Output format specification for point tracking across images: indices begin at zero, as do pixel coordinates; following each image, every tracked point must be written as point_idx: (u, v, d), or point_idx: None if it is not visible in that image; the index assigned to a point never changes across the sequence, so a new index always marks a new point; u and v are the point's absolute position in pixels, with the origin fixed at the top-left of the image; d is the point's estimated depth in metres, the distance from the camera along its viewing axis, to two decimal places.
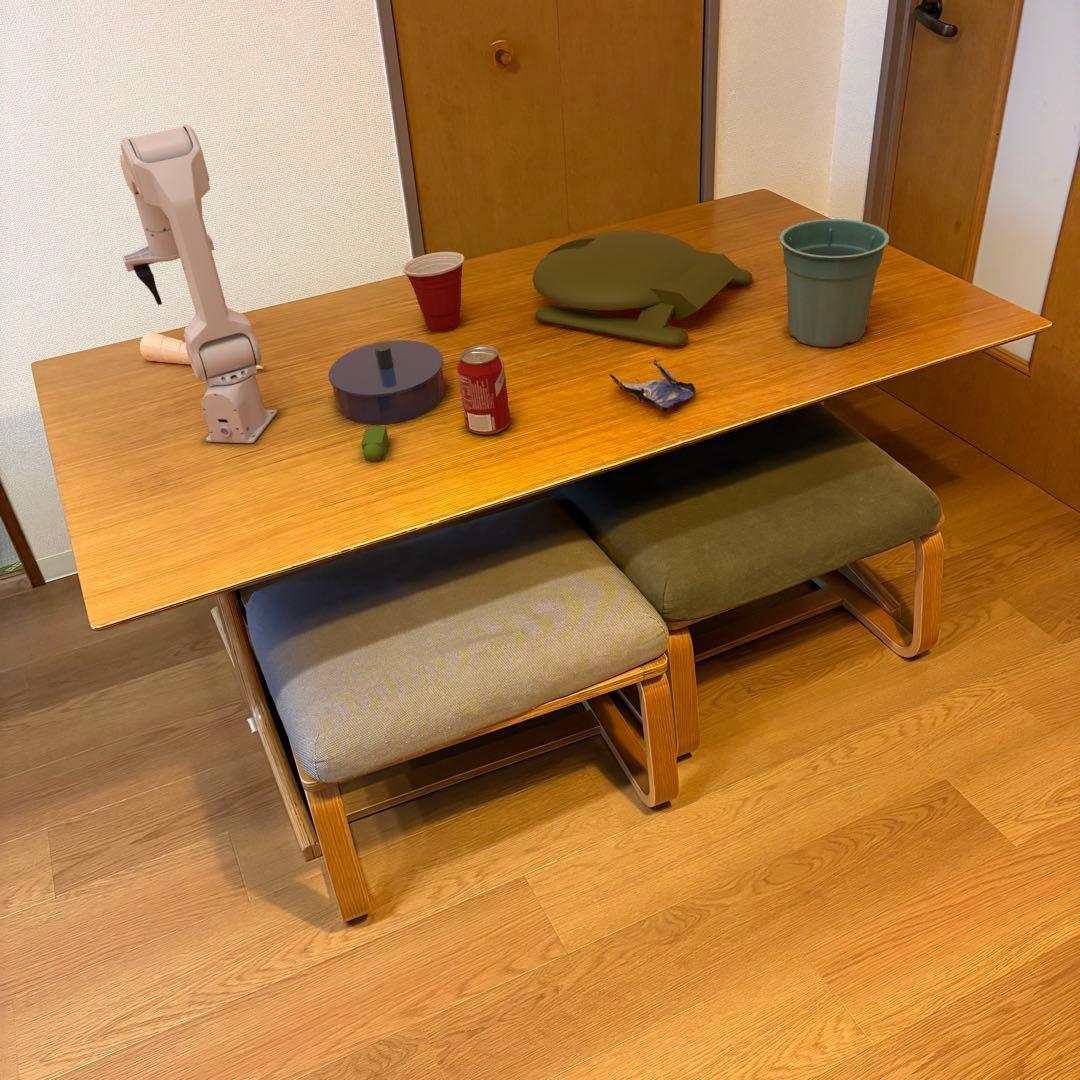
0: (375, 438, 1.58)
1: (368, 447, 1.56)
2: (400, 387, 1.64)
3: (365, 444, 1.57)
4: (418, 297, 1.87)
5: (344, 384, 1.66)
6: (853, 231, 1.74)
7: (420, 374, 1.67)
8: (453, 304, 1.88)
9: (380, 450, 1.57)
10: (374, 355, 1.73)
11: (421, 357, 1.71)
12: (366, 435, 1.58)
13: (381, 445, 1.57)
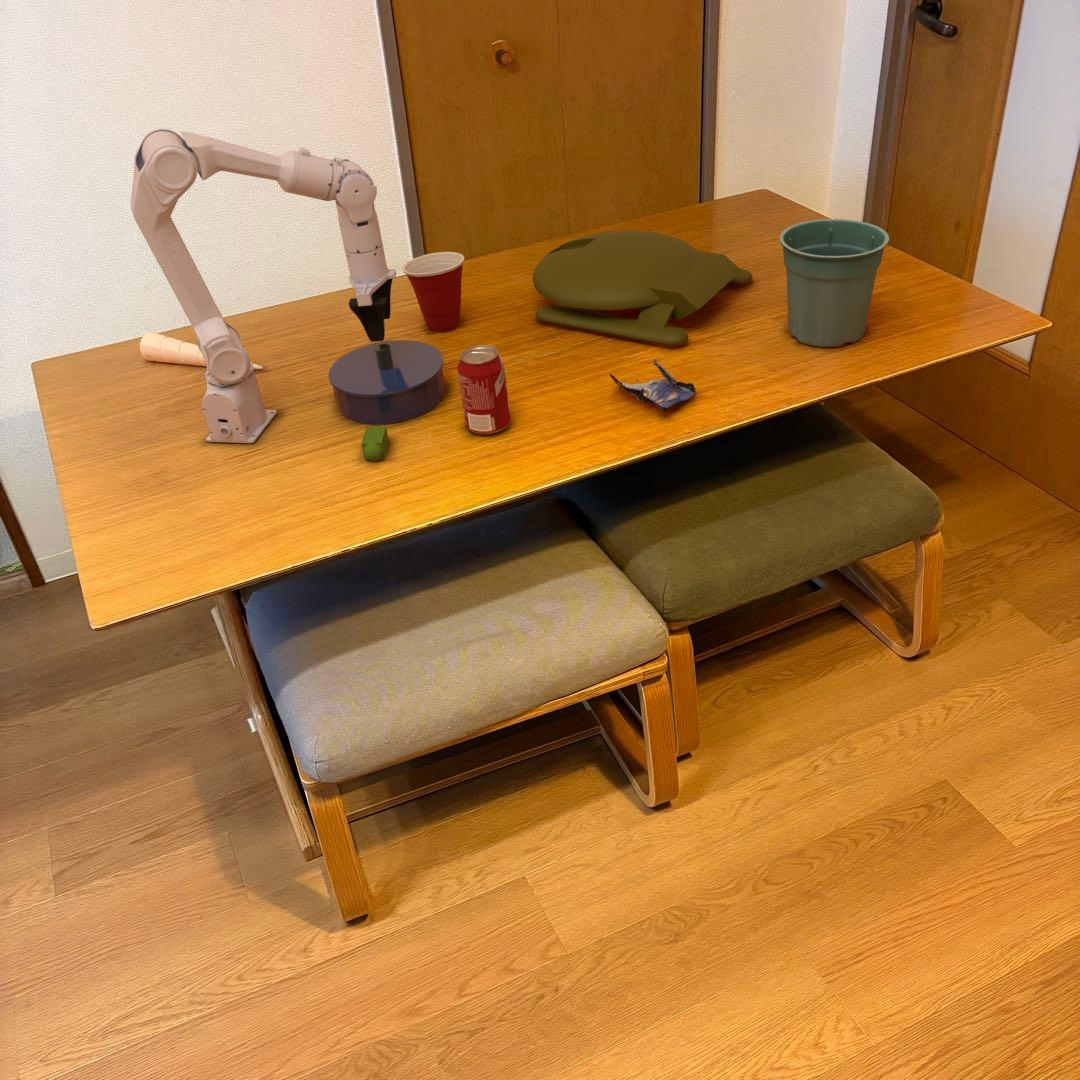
0: (375, 438, 1.58)
1: (368, 447, 1.56)
2: (400, 387, 1.64)
3: (365, 444, 1.57)
4: (418, 297, 1.87)
5: (344, 384, 1.66)
6: (853, 231, 1.74)
7: (420, 374, 1.67)
8: (453, 304, 1.88)
9: (380, 450, 1.57)
10: (374, 355, 1.73)
11: (421, 357, 1.71)
12: (366, 435, 1.58)
13: (381, 445, 1.57)
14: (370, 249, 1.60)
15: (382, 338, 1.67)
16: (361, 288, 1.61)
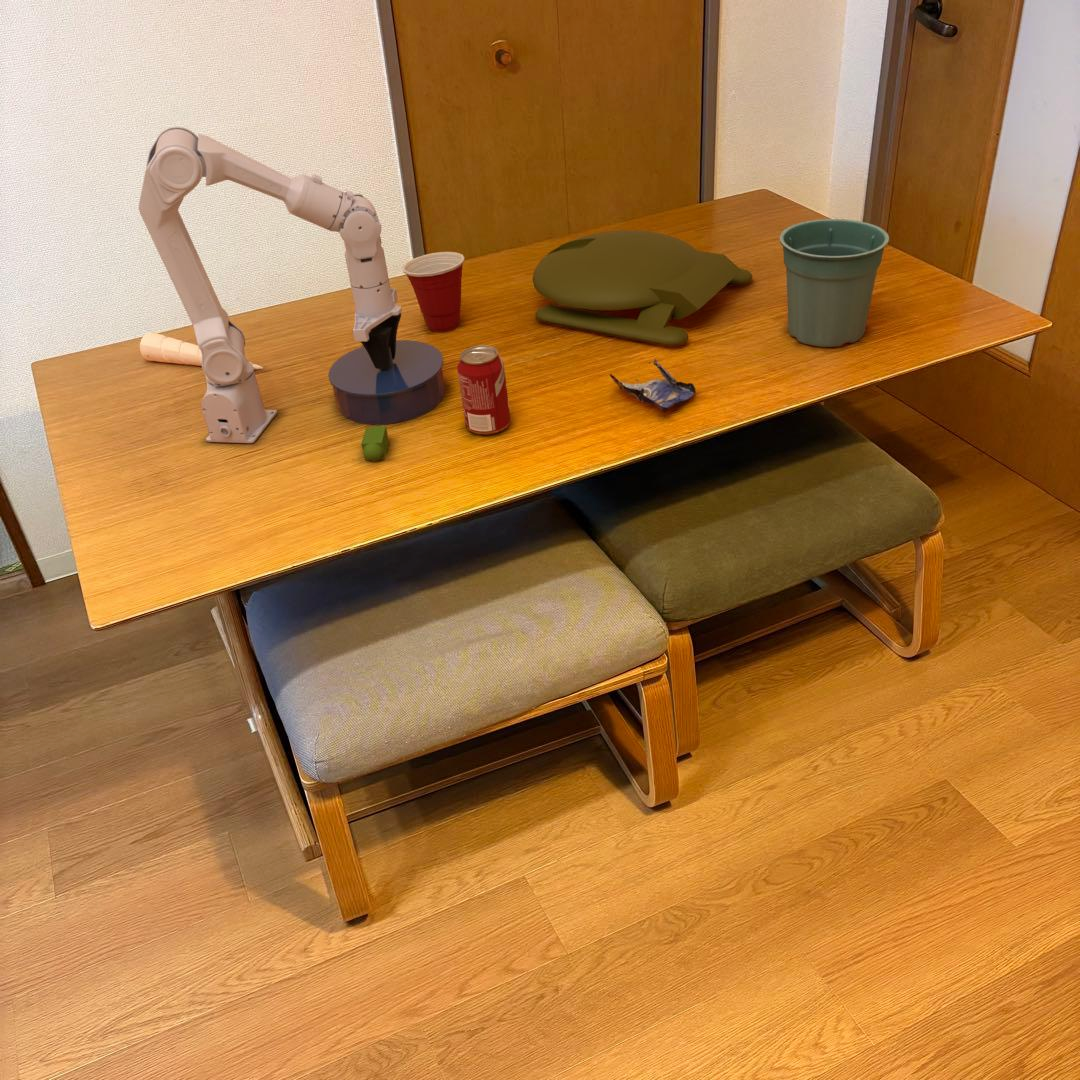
0: (375, 438, 1.58)
1: (368, 447, 1.56)
2: (400, 387, 1.64)
3: (365, 444, 1.57)
4: (418, 297, 1.87)
5: (344, 384, 1.66)
6: (853, 231, 1.74)
7: (420, 374, 1.67)
8: (453, 304, 1.88)
9: (380, 450, 1.57)
10: None
11: (421, 357, 1.71)
12: (366, 435, 1.58)
13: (381, 445, 1.57)
14: (373, 285, 1.59)
15: (386, 366, 1.68)
16: (361, 323, 1.61)
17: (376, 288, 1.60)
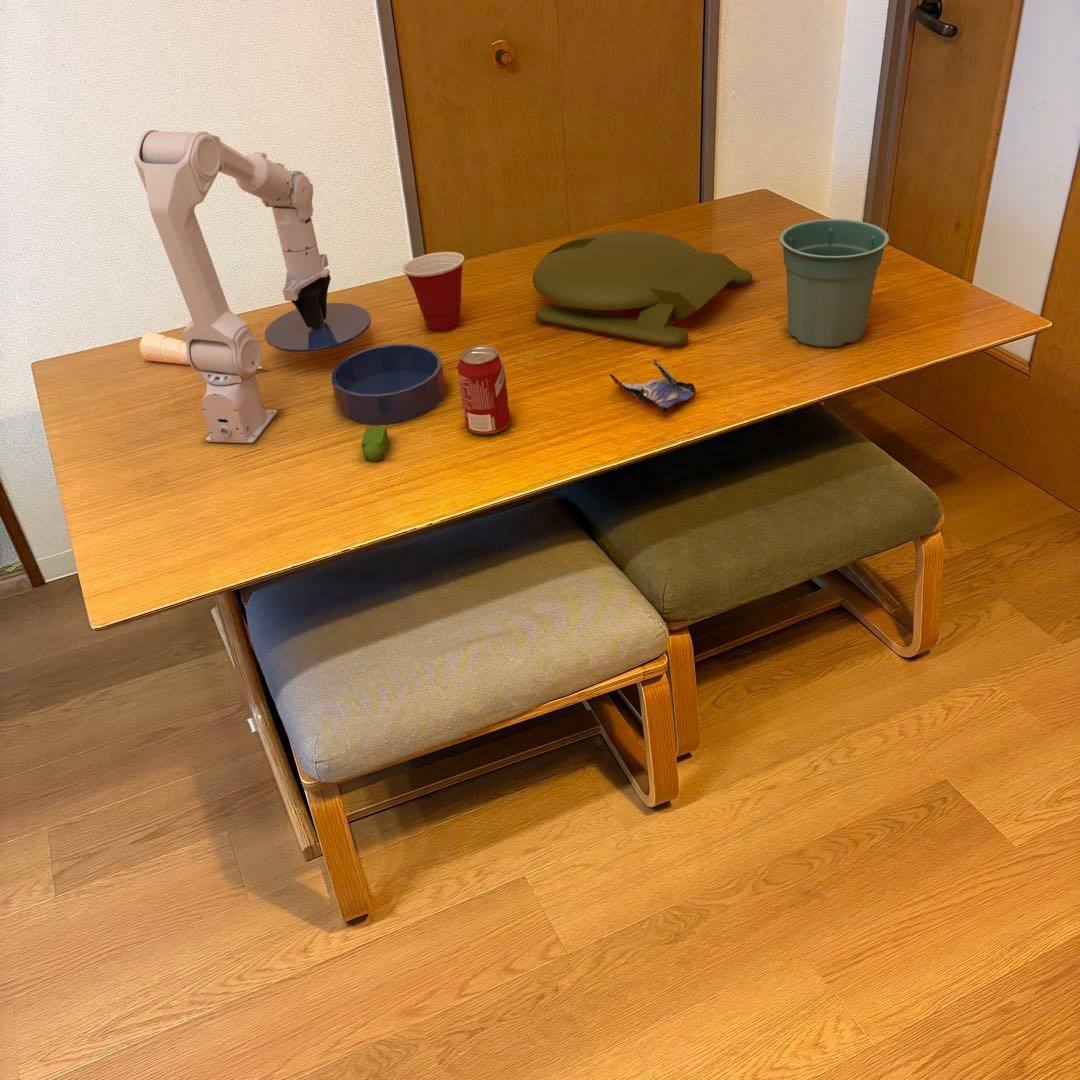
0: (375, 438, 1.58)
1: (368, 447, 1.56)
2: (328, 343, 1.78)
3: (365, 444, 1.57)
4: (418, 297, 1.87)
5: (278, 341, 1.81)
6: (853, 231, 1.74)
7: (348, 332, 1.81)
8: (453, 304, 1.88)
9: (380, 450, 1.57)
10: None
11: (351, 317, 1.86)
12: (366, 435, 1.58)
13: (381, 445, 1.57)
14: (314, 243, 1.75)
15: (316, 325, 1.82)
16: (291, 284, 1.75)
17: (304, 252, 1.74)
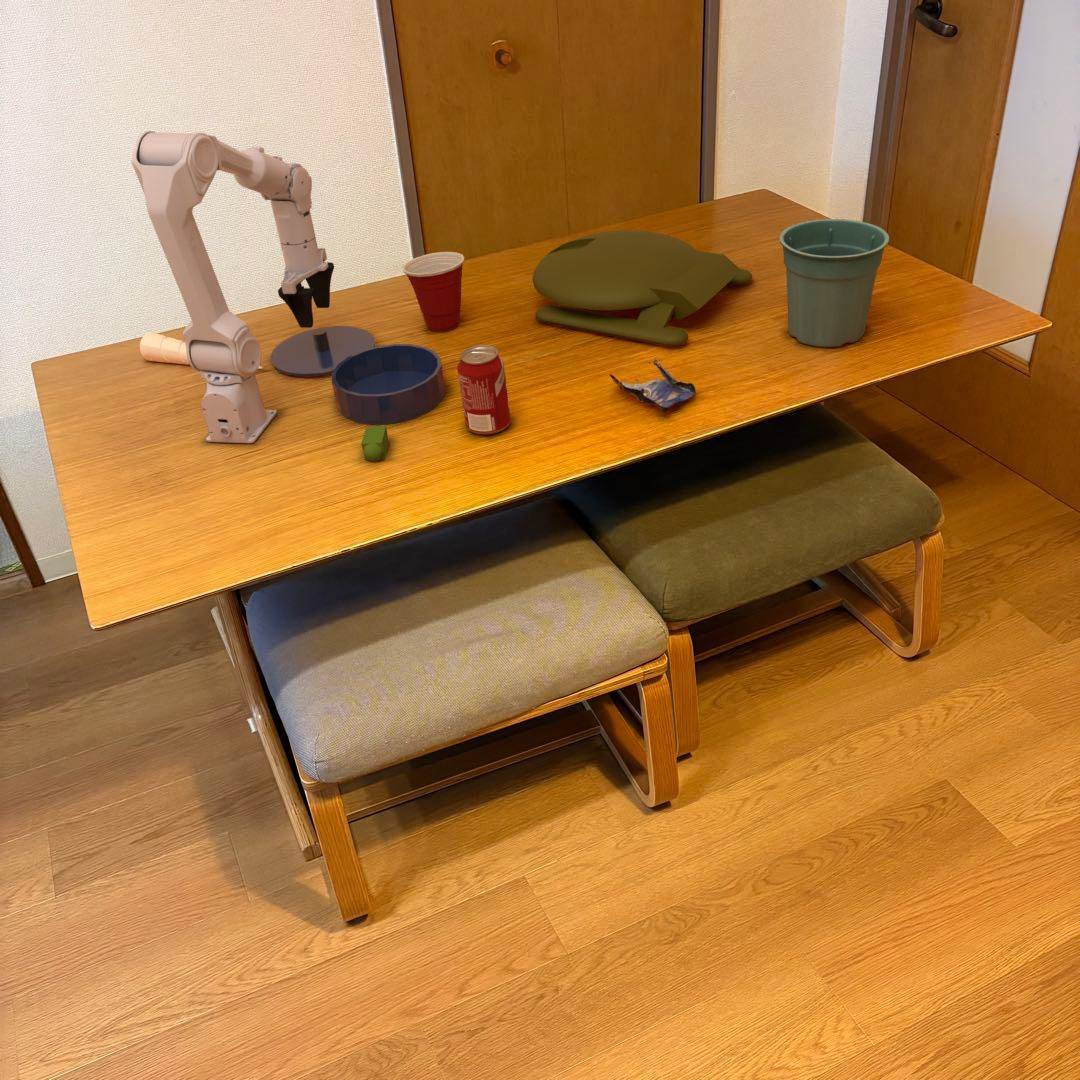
0: (375, 438, 1.58)
1: (368, 447, 1.56)
2: (334, 367, 1.81)
3: (365, 444, 1.57)
4: (418, 297, 1.87)
5: (284, 364, 1.83)
6: (853, 231, 1.74)
7: None
8: (453, 304, 1.88)
9: (380, 450, 1.57)
10: (313, 339, 1.90)
11: (355, 341, 1.88)
12: (366, 435, 1.58)
13: (381, 445, 1.57)
14: (313, 237, 1.75)
15: (310, 325, 1.80)
16: (289, 277, 1.74)
17: (303, 245, 1.73)
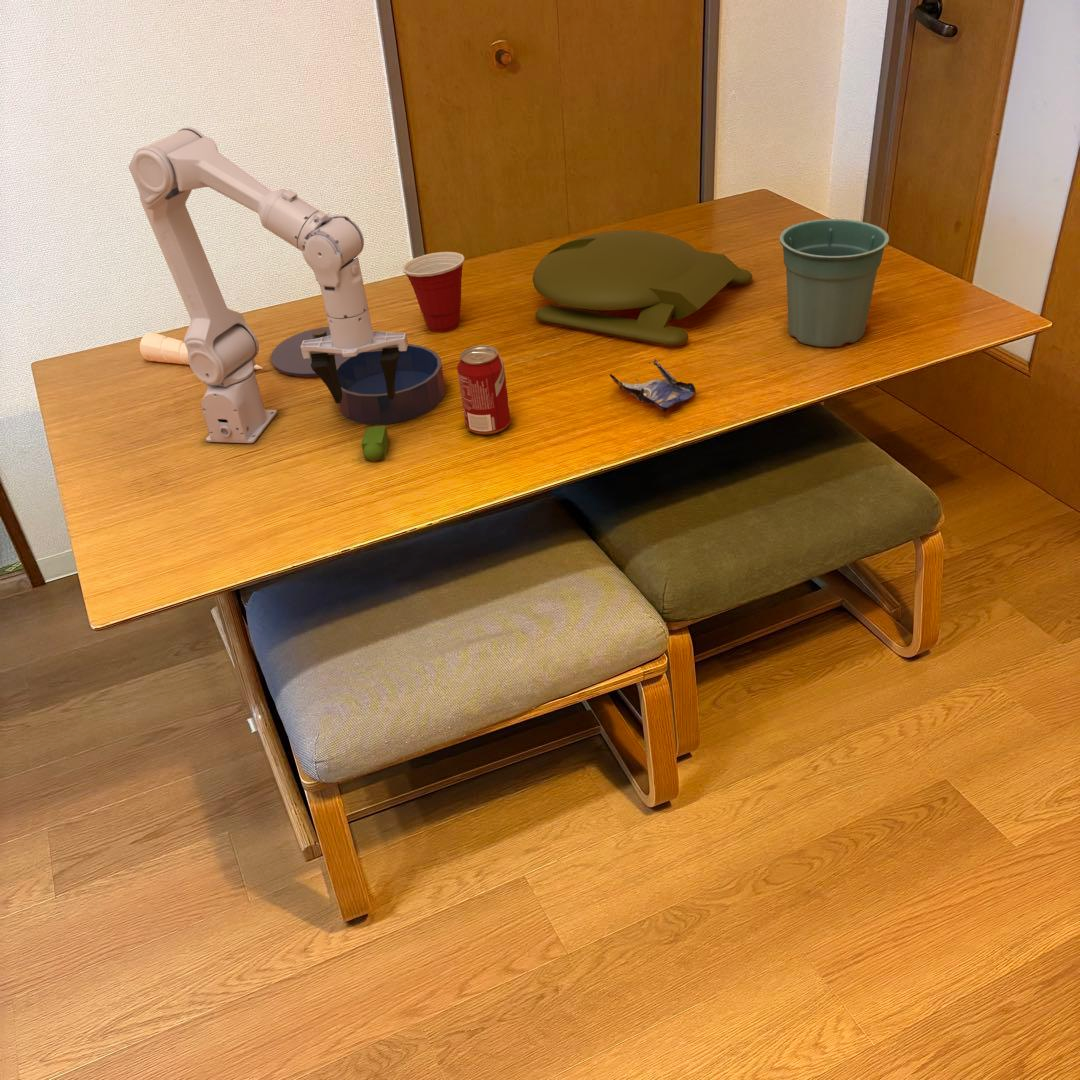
0: (375, 438, 1.58)
1: (368, 447, 1.56)
2: None
3: (365, 444, 1.57)
4: (418, 297, 1.87)
5: (284, 364, 1.83)
6: (853, 231, 1.74)
7: None
8: (453, 304, 1.88)
9: (380, 450, 1.57)
10: None
11: None
12: (366, 435, 1.58)
13: (381, 445, 1.57)
14: (337, 316, 1.45)
15: (335, 400, 1.55)
16: None
17: (329, 318, 1.46)
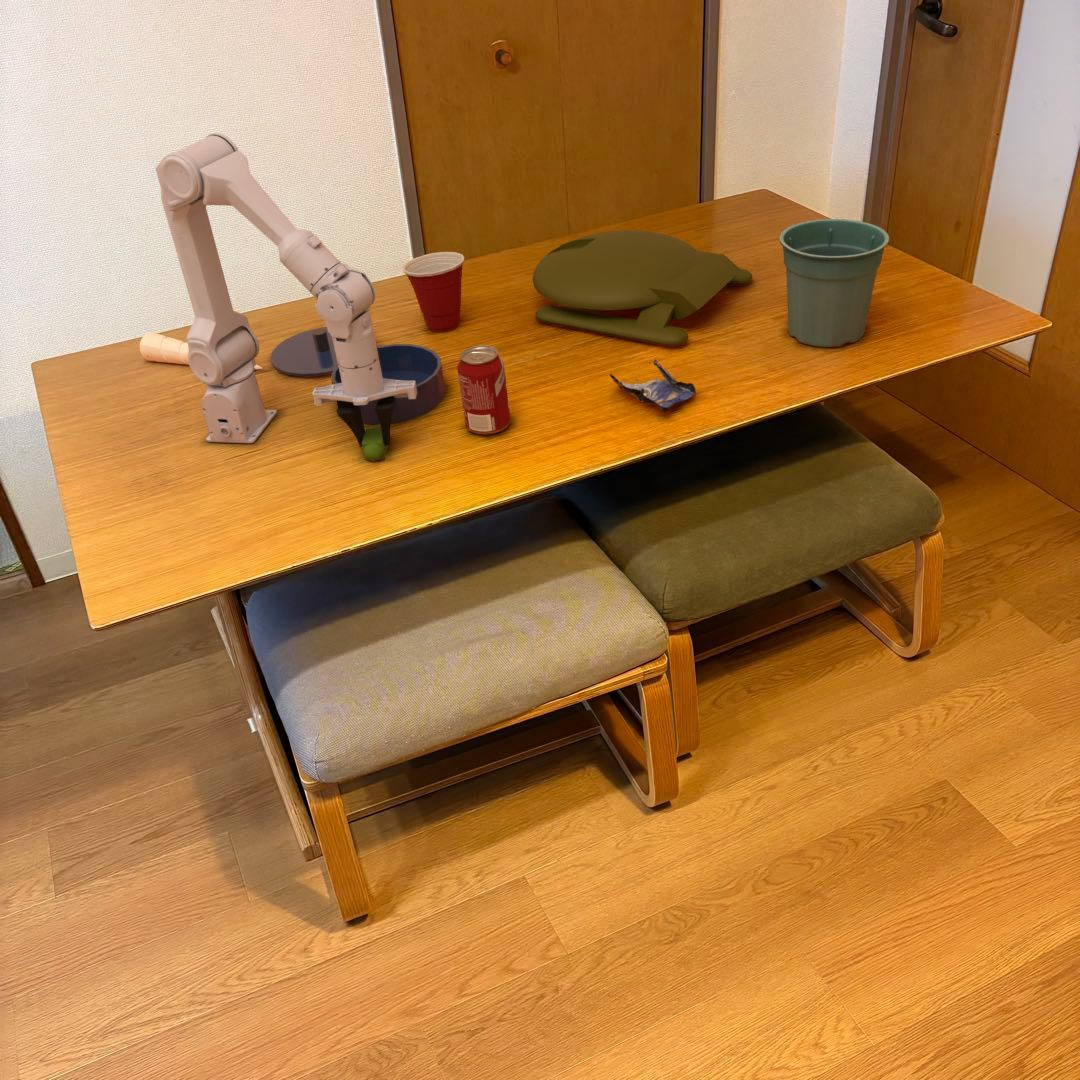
0: (376, 438, 1.58)
1: (368, 447, 1.56)
2: (334, 367, 1.81)
3: (365, 444, 1.57)
4: (418, 297, 1.87)
5: (284, 364, 1.83)
6: (853, 231, 1.74)
7: None
8: (453, 304, 1.88)
9: (380, 450, 1.57)
10: (313, 339, 1.90)
11: None
12: (366, 435, 1.58)
13: (381, 445, 1.57)
14: (348, 366, 1.49)
15: (359, 444, 1.58)
16: (331, 389, 1.55)
17: (340, 367, 1.50)
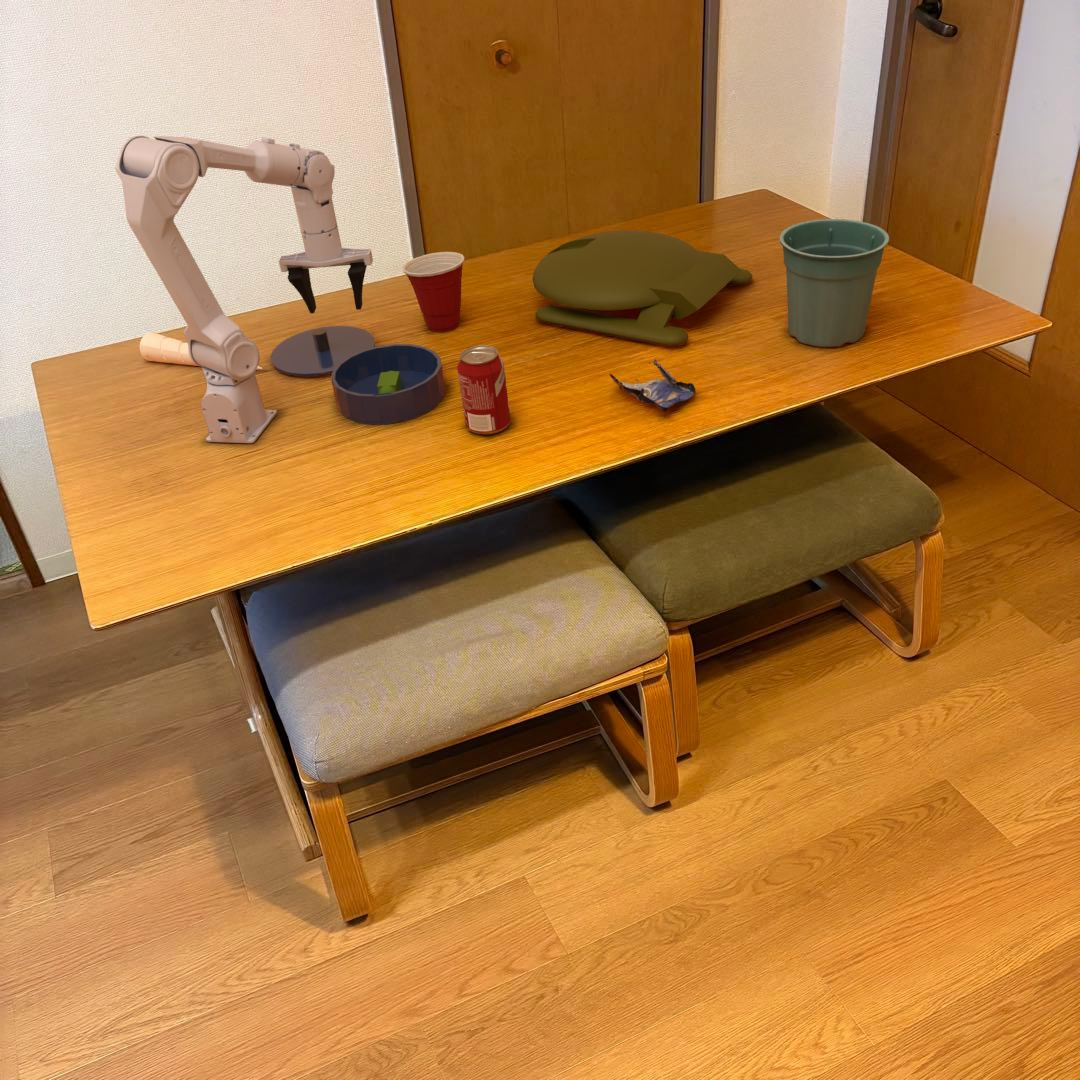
0: (390, 381, 1.70)
1: (383, 389, 1.69)
2: (334, 367, 1.81)
3: (380, 387, 1.69)
4: (418, 297, 1.87)
5: (284, 364, 1.83)
6: (853, 231, 1.74)
7: None
8: (453, 304, 1.88)
9: None
10: (313, 339, 1.90)
11: (355, 341, 1.88)
12: (381, 379, 1.71)
13: (395, 387, 1.70)
14: (332, 227, 1.68)
15: None
16: (354, 255, 1.71)
17: None
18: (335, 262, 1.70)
